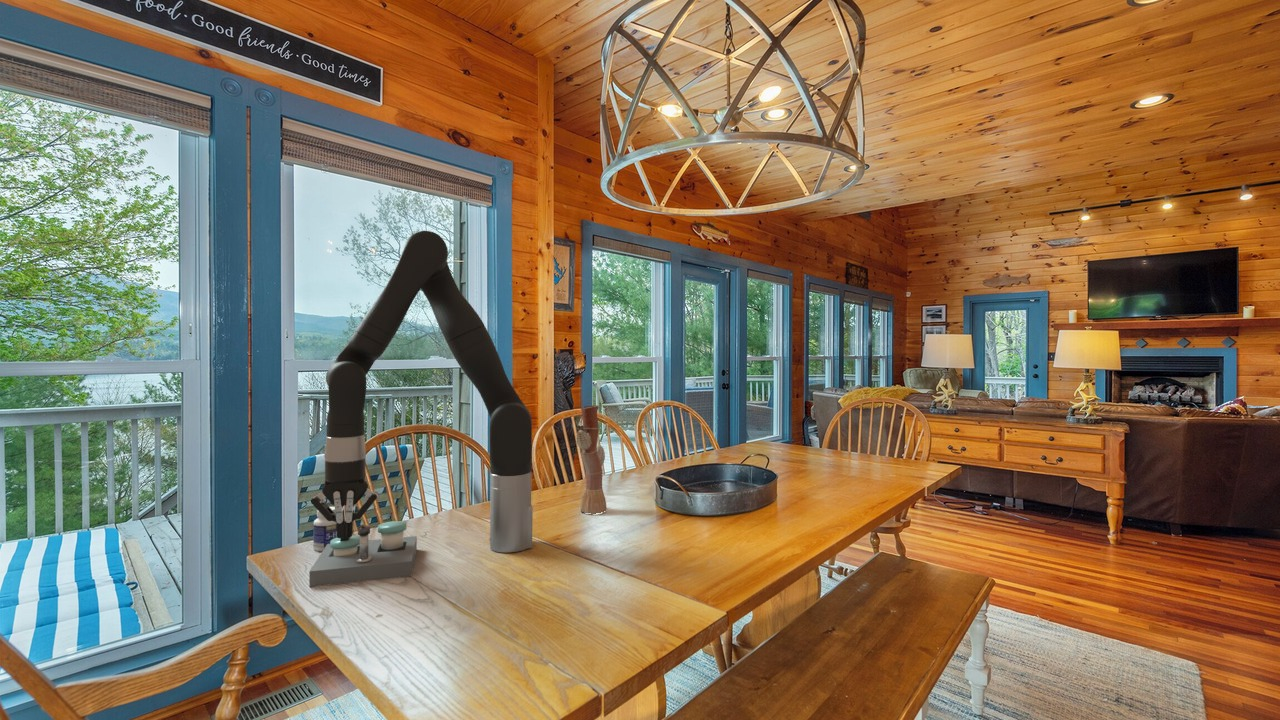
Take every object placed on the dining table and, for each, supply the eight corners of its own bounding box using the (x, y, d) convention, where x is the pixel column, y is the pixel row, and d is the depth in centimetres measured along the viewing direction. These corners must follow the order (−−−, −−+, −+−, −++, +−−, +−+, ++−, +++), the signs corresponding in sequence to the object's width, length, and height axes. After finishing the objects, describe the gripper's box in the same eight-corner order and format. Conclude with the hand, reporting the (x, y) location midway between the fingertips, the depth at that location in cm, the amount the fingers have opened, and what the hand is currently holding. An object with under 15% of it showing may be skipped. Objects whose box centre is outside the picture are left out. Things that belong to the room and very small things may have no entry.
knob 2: (407, 540, 125) (407, 520, 125) (405, 549, 120) (405, 527, 120) (379, 542, 123) (379, 522, 123) (376, 551, 118) (376, 530, 118)
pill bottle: (328, 552, 126) (328, 512, 126) (307, 550, 127) (307, 511, 127) (345, 544, 131) (345, 506, 131) (325, 542, 132) (325, 505, 132)
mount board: (416, 549, 129) (416, 536, 129) (411, 576, 113) (411, 561, 113) (327, 557, 123) (327, 543, 123) (309, 587, 108) (309, 571, 108)
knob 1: (362, 555, 122) (362, 534, 122) (358, 564, 117) (358, 542, 117) (333, 557, 120) (333, 536, 120) (327, 567, 115) (327, 545, 115)
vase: (599, 506, 166) (599, 403, 165) (613, 511, 160) (614, 405, 159) (567, 512, 159) (568, 405, 159) (581, 518, 153) (582, 407, 153)
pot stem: (372, 557, 115) (372, 524, 115) (370, 562, 112) (370, 528, 112) (357, 559, 114) (357, 525, 114) (355, 564, 112) (355, 530, 112)
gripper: (382, 452, 124) (381, 531, 124) (314, 455, 120) (313, 536, 120) (377, 458, 117) (377, 542, 117) (305, 461, 113) (304, 548, 113)
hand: (345, 539), depth 119 cm, fingers closed
